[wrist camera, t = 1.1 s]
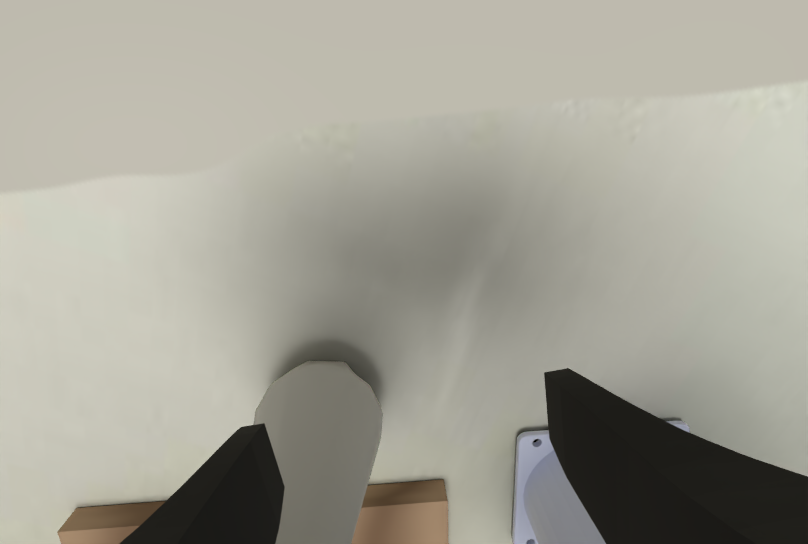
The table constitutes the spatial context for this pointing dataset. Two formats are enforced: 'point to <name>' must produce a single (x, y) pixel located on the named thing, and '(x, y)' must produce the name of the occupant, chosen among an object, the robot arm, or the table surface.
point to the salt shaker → (321, 449)
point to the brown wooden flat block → (373, 538)
